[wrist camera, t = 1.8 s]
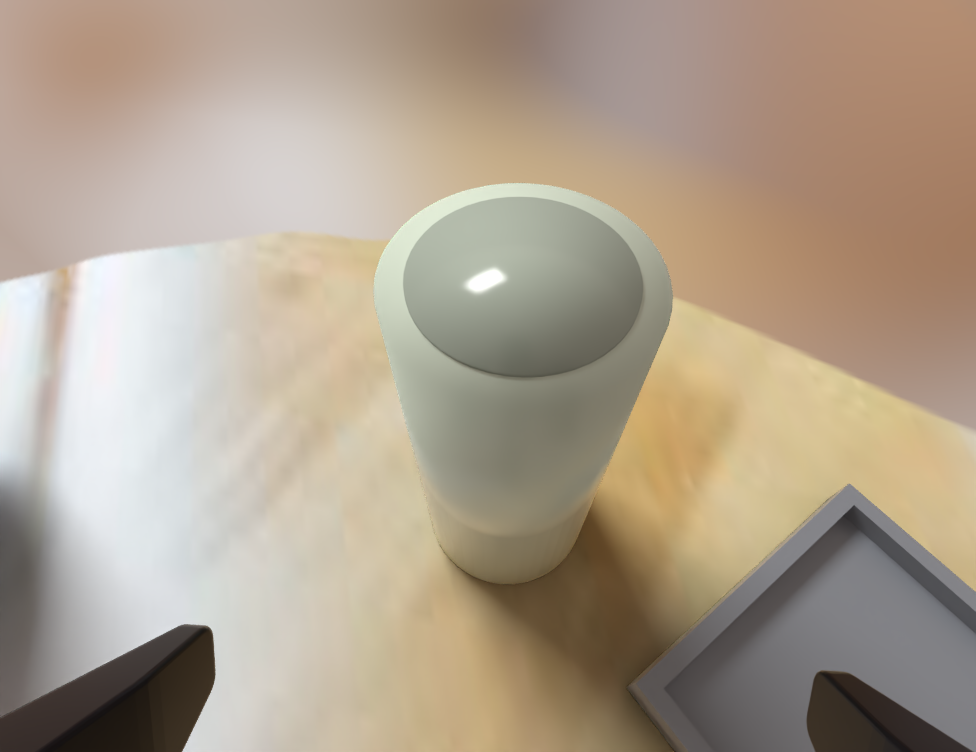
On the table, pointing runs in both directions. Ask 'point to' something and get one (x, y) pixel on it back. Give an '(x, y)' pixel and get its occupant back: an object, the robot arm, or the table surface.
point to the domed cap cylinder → (518, 362)
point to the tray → (820, 638)
